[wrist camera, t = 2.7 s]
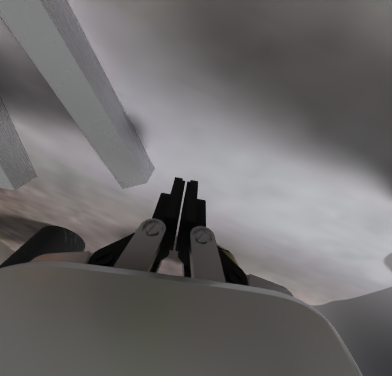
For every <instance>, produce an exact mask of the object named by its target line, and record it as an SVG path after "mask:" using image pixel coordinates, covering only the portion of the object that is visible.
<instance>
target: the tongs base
mask: <svg viewBox="0 0 392 376" xmlns="http://www.w3.org/2000/svg"><path fill="white" fill-rule="evenodd" d="M36 177H37V175H36V173H35V171H34V168H33V166H32V164H31V162H30V160H29V158H28V156H27V154H26V151H25V149H24V147H23V145H22V143H21V141H20V139H19V136H18V134H17V132H16V130H15V128H14V126H13V124H12V122H11V119H10V117H9V115H8V113H7V111H6V109H5V107H4V104H3V102H2V100H1V98H0V188H5V189H10V190H16V189H18V188H20V187H21V186H23V185H25V184H26V183H28V182H29V181H31V180H33V179H34V178H36Z"/></svg>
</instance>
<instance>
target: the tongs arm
mask: <svg viewBox="0 0 392 376" xmlns="http://www.w3.org/2000/svg"><path fill="white" fill-rule="evenodd" d="M0 16H1V18H2V19H3V20H4V22H5V23H6V25H7V26H8V27H9V29H10V30H11V32H12V33H13V35H14V36H15V37H16V39H17V40H18V42H19V43H20V44H21V46H22V47H23V49H24V50H25V51H26V53H27V54H28V56H29V57H30V59H31V60H32V61H33V63H34V64H35V66H36V67H37V68H38V70H39V71H40V73H41V74H42V76H43V77H44V78H45V80H46V81H47V83H48V84H49V85H50V87H51V88H52V90H53V91H54V92H55V94H56V95H57V97H58V98H59V100H60V101H61V102H62V104H63V105H64V107H65V108H66V109H67V111H68V112H69V114H70V115H71V117H72V118H73V119H74V121H75V122H76V124H77V125H78V126H79V128H80V129H81V131H82V132H83V133H84V135H85V136H86V138H87V139H88V141H89V142H90V143H91V145H92V146H93V148H94V149H95V150H96V152H97V153H98V155H99V156H100V158H101V159H102V160H103V162H104V163H105V165H106V166H107V167H108V169H109V170H110V172H111V173H112V174H113V176H114V177H115V179H116V180H117V182H118V183H119V184H120V186H121V187H122V189H124V188H128V187H132V186H136V185H140V184H144V183H147V182H148V180H149V178H150V176H151V175H152V173H153V171H154V169H155V168H154V166H153V165H152V163H151V161H150V159H149V157H148V155H147V153H146V151H145V149H144V147H143V145H142V144H141V142H140V140H139V138H138V136H137V134H136V132H135V130H134V128H133V126H132V124H131V123H130V121H129V119H128V117H127V115H126V113H125V111H124V109H123V107H122V105H121V103H120V101H119V100H118V98H117V96H116V94H115V92H114V90H113V88H112V86H111V84H110V82H109V80H108V79H107V77H106V75H105V73H104V71H103V69H102V67H101V65H100V63H99V61H98V59H97V58H96V56H95V54H94V52H93V50H92V48H91V46H90V44H89V42H88V40H87V38H86V37H85V35H84V33H83V31H82V29H81V27H80V25H79V23H78V21H77V19H76V17H75V16H74V14H73V12H72V10H71V8H70V6H69V4H68V2H67V0H0Z"/></svg>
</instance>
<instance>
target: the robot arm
mask: <svg viewBox="0 0 392 376" xmlns="http://www.w3.org/2000/svg"><path fill="white" fill-rule="evenodd" d="M182 180H183V179H182V178H176V177H175V180H174V184H173V187H172V191H171V194H166V193H161V195H160V198H159V201H158V203H157V206H156V209H155V212H154V214H153V217H152V219H148V220H145V221H144V222H142V224H141V225H140V226H139V228H138V229H137V231H136V232H135V233H133V234H131V235H129V236H127V237H125V238H123V239H121V240H118V241H116V242H114V243H112V244H110V245H108V246H106V247H104V248H101V249H99V250H98V251H96V252H95V253H90V251H83V252H67V253H51V254H44V255H40V256H38V257H36V258H34V259H33V260H31V261H30V262H28V263H22V264H16V265H11V266H7V267H3V268H0V376H362V374H361V372H360V370H359V368H358V367H357V365H356V363H355V361H354V359H353V358H352V356H351V354H350V352H349V351H348V349H347V347H346V346H345V344H344V342H343V341H342V339H341V338H340V336H339V334H338V333H337V331H336V330H335V329H334V327H333V326H332V324H331V323H330V322H329V321H328V320H327V319H326V318H325V317H324V316H323V315H322V314H321V313H320V312H318V311H317V310H316V309H314V308H312V307H311V306H310V305H308V304H306V303H304V302H303V301H301V300H299V299H297V298H295V297H293V295H292V294H291V292H289V291H288V290H287V289H286V288H284V287H283V286H280V285H278V284H275V283H273V282H270V281H267V280H265V279H262V278H259V277H257V276H254V275H251V274H249V275H246V274H245V273H244V272H243V270H242V269H241V268H240V267H239V266H238V265H237V264H236V263H235V262H233V261H232V260H231V259H230V258H229V257H228V256H227V255H226V254H225V253H224V252H223V251H222V250H221V249H220V248H219V247H218V246H217V244H216V240H215V236H214V233H213V232H212V231H211V230H210V229H209V228H207V227H206V202H205V200H200V199H197V191H198V181H193V180H191V181H190V182H187V187H186V192H185V197H184V202H183V208H182V213H181V220H180V226H179V232H178V238H177V244H176V251H179V252H178V258H179V259H180V260H181V261H182V274H183V277H182V276H174V275H167V274H160V273H158V270H159V268H160V265H161V262H162V260H163V259H164V258H166V257H167V256H168V255H169V250H172V251H173V247H174V241H175V236H176V230H177V225H178V219H179V214H180V208H181V202H182V196H183V191H184V185H185V181H182Z"/></svg>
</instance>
